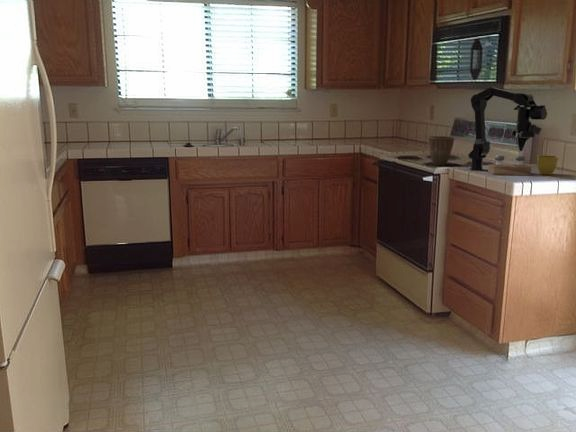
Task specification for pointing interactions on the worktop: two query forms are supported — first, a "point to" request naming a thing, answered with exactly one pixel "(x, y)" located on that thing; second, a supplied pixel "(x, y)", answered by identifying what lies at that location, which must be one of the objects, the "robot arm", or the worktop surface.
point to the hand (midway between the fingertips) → (520, 151)
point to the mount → (509, 170)
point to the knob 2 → (520, 160)
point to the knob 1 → (499, 160)
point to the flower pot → (547, 164)
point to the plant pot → (440, 149)
